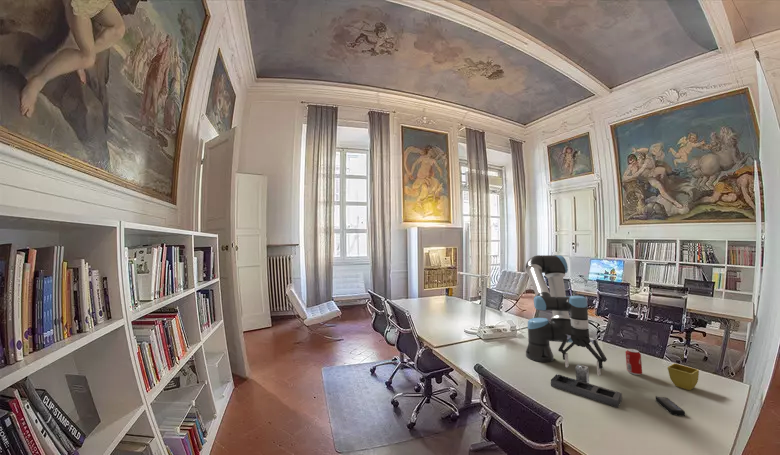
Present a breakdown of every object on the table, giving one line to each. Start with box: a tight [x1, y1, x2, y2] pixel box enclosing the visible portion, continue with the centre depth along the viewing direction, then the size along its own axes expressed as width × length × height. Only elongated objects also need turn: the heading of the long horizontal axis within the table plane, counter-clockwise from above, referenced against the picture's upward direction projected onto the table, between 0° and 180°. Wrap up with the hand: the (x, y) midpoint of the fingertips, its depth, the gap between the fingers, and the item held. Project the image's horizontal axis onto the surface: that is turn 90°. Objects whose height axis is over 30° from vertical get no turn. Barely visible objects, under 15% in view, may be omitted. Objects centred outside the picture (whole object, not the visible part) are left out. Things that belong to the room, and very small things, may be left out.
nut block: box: [575, 364, 590, 384], centre depth 141 cm, size 4×4×8 cm
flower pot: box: [667, 363, 700, 391], centre depth 135 cm, size 9×9×9 cm
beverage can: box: [625, 348, 643, 376], centre depth 151 cm, size 6×6×12 cm
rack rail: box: [550, 373, 623, 409], centre depth 132 cm, size 26×9×3 cm, turn 43°
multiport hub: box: [655, 396, 686, 418], centre depth 118 cm, size 4×11×2 cm, turn 164°
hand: (582, 370), depth 140 cm, fingers open, 13 cm apart
